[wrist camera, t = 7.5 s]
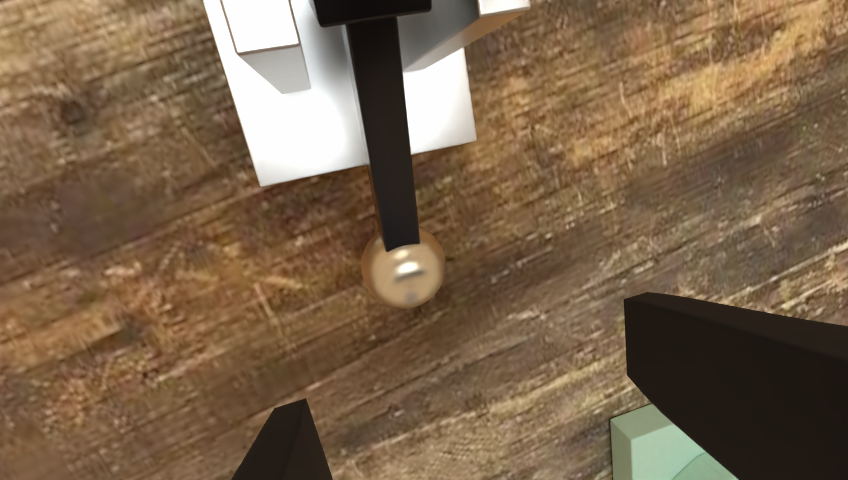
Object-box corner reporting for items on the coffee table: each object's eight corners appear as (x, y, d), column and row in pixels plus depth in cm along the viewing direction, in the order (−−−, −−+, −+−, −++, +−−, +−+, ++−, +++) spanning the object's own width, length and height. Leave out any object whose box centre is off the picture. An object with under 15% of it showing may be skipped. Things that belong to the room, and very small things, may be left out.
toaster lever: (432, 258, 16) (458, 312, 14) (361, 277, 15) (377, 336, 13) (399, -175, 8) (446, -202, 6) (253, -166, 8) (250, -192, 5)
